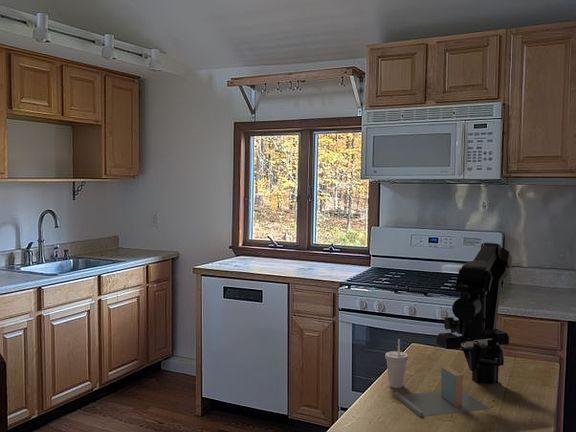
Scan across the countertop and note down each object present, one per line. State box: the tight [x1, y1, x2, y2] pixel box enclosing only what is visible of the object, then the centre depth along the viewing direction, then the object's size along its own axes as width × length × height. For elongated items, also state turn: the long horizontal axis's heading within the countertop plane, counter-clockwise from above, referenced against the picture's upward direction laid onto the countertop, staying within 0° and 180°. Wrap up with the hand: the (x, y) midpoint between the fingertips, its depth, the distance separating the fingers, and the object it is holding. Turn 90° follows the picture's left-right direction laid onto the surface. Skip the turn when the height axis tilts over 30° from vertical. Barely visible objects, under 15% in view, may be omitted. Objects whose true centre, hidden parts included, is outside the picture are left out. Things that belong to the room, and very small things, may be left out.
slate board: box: [393, 389, 491, 418], centre depth 151 cm, size 20×14×2 cm
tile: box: [440, 366, 464, 406], centre depth 151 cm, size 2×7×8 cm, turn 16°
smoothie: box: [384, 338, 409, 389], centre depth 162 cm, size 6×6×14 cm
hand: (472, 370), depth 153 cm, fingers closed
